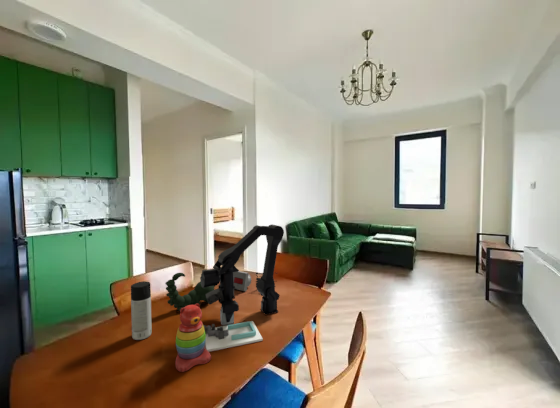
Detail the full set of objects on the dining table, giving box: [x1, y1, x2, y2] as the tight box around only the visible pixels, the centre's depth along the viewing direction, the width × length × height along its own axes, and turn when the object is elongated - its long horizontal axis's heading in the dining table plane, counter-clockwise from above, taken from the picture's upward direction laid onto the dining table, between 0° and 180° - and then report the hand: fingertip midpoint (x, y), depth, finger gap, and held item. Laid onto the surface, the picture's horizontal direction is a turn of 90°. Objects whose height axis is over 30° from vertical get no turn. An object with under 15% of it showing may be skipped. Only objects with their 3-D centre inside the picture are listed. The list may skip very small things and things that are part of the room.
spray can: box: [130, 281, 152, 341], centre depth 100 cm, size 7×7×20 cm
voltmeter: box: [234, 270, 278, 292], centre depth 150 cm, size 27×11×10 cm, turn 95°
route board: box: [203, 320, 264, 353], centre depth 101 cm, size 20×14×3 cm
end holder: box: [227, 320, 256, 340], centre depth 102 cm, size 9×9×2 cm
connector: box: [219, 308, 235, 326], centre depth 111 cm, size 5×4×5 cm
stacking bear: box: [175, 303, 212, 373], centre depth 87 cm, size 11×10×18 cm
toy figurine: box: [165, 272, 216, 312], centre depth 126 cm, size 9×19×25 cm
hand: (227, 319), depth 111 cm, fingers closed on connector, 4 cm apart
